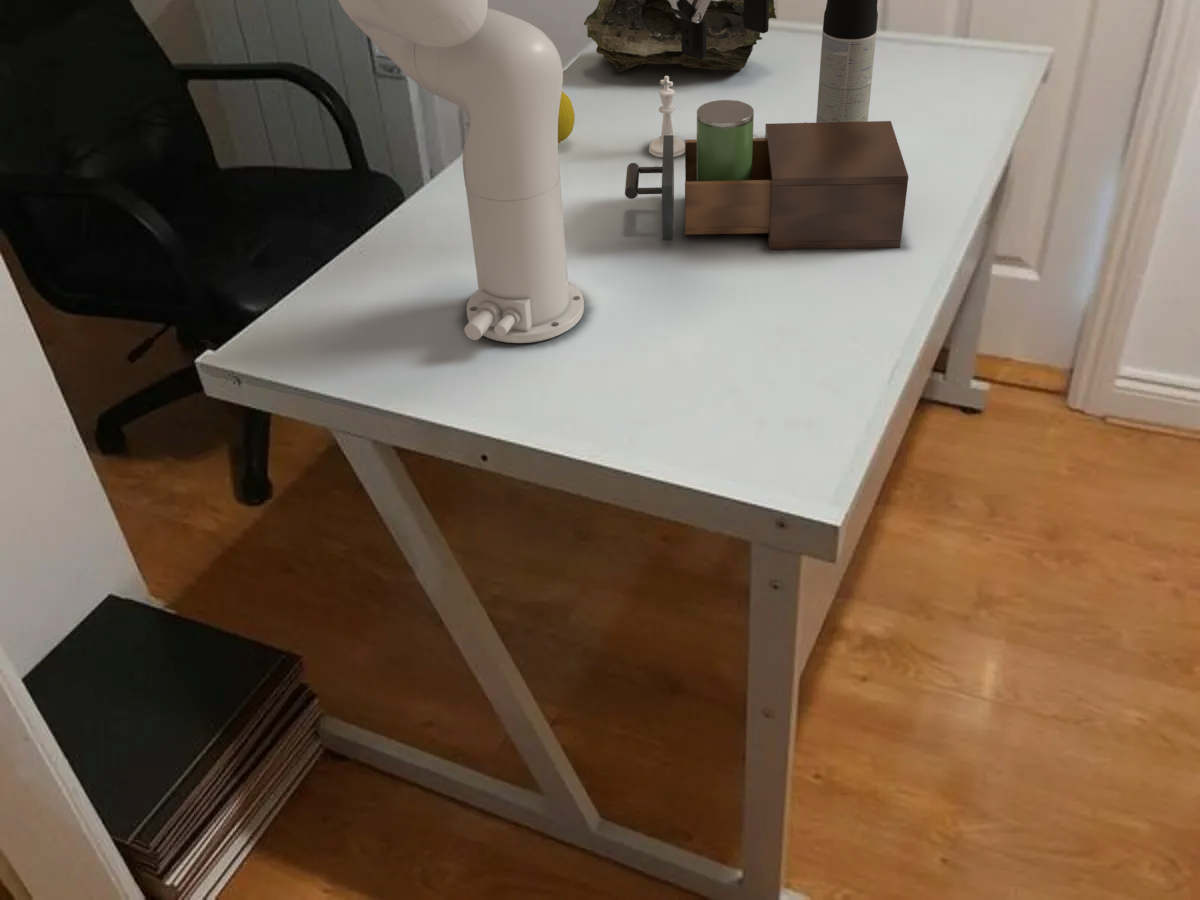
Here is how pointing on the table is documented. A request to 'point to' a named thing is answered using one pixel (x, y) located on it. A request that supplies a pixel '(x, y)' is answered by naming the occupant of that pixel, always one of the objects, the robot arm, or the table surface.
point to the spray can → (847, 60)
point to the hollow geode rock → (670, 34)
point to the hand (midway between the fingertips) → (725, 42)
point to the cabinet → (835, 185)
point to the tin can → (724, 141)
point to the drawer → (710, 194)
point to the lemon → (565, 118)
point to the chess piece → (666, 122)
